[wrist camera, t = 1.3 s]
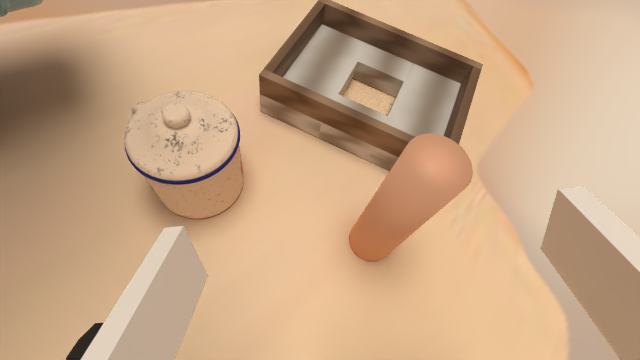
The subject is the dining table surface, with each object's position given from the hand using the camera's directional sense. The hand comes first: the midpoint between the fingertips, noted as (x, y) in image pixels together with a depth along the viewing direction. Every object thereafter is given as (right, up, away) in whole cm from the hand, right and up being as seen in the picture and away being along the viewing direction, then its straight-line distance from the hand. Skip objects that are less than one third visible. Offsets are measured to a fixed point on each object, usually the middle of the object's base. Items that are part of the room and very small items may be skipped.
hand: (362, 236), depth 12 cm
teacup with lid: (-15, +3, +23) cm, 28 cm away
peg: (+4, -4, +22) cm, 23 cm away
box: (+4, +12, +31) cm, 34 cm away
